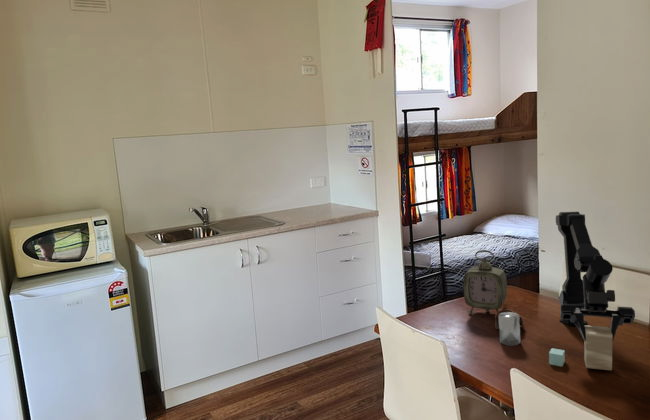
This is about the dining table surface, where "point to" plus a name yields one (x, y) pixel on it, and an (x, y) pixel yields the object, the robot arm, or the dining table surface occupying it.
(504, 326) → the grey tin
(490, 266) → the tabletop clock
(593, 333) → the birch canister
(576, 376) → the dining table surface
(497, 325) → the pottery mug
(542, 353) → the dining table surface
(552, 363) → the letter block
